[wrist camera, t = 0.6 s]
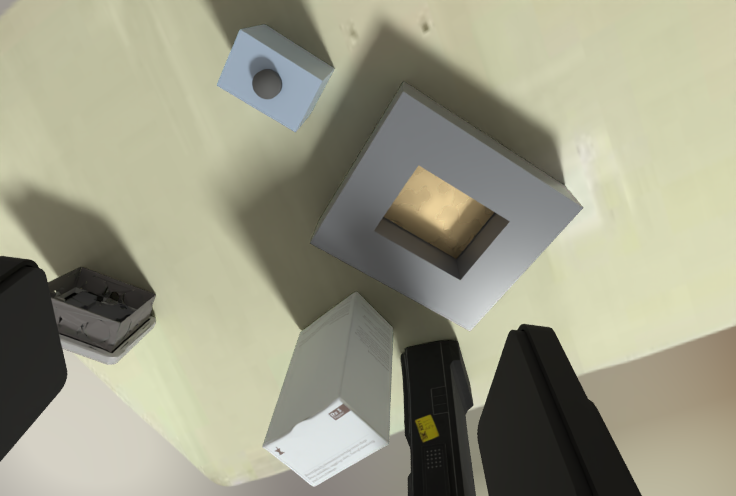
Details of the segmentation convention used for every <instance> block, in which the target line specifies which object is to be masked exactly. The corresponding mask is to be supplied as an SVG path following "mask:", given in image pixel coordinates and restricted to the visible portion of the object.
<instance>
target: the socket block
mask: <svg viewBox="0 0 736 496" xmlns="http://www.w3.org/2000/svg"><path fill="white" fill-rule="evenodd" d="M582 209H583V207H582V206H581V204H580V203H579V202H578V201H577V199H576V198H575V197H574V196H573V195H572V193H571V192H570V191H569V190H568V189H567V187H566V186H564V185H563V184H561V183H560V182H558V181H557V180H555V179H554V178H552V177H551V176H549V175H548V174H546V173H544V172H543V171H541V170H540V169H538V168H537V167H535V166H534V165H532V164H531V163H529V162H528V161H526V160H524V159H523V158H521V157H520V156H518V155H517V154H515V153H514V152H512V151H511V150H509V149H508V148H506V147H504V146H503V145H501V144H500V143H498V142H497V141H495V140H494V139H492V138H491V137H489V136H488V135H486V134H484V133H483V132H481V131H480V130H478V129H477V128H475V127H474V126H472V125H471V124H469V123H468V122H466V121H464V120H463V119H461V118H460V117H458V116H457V115H455V114H454V113H452V112H451V111H449V110H448V109H446V108H444V107H443V106H441V105H440V104H438V103H437V102H435V101H434V100H432V99H431V98H429V97H428V96H426V95H424V94H423V93H421V92H420V91H418V90H417V89H415V88H414V87H412V86H411V85H409V84H408V83H406V82H404V81H403V83H402V85H401V86H400V88H399V90H398V91H397V93H396V95H395V96H394V98H393V99H392V101H391V103H390V104H389V106H388V108H387V109H386V111H385V113H384V114H383V116H382V118H381V119H380V121H379V122H378V124H377V126H376V127H375V129H374V131H373V132H372V134H371V136H370V137H369V139H368V141H367V142H366V144H365V145H364V147H363V149H362V150H361V152H360V154H359V155H358V157H357V159H356V160H355V162H354V164H353V165H352V167H351V168H350V170H349V172H348V173H347V175H346V177H345V178H344V180H343V182H342V183H341V185H340V187H339V188H338V190H337V191H336V193H335V195H334V196H333V198H332V200H331V201H330V203H329V205H328V206H327V208H326V210H325V211H324V213H323V214H322V216H321V218H320V219H319V222H318V224H317V227H316V229H315V232H314V234H313V237H312V239H311V242H310V244H312V245H314V246H316V247H318V248H319V249H321V250H323V251H325V252H327V253H328V254H330V255H332V256H334V257H336V258H338V259H339V260H341V261H343V262H345V263H347V264H348V265H350V266H352V267H354V268H356V269H358V270H359V271H361V272H363V273H365V274H367V275H368V276H370V277H372V278H374V279H376V280H378V281H379V282H381V283H383V284H385V285H387V286H388V287H390V288H392V289H394V290H396V291H398V292H399V293H401V294H403V295H405V296H407V297H408V298H410V299H412V300H414V301H416V302H417V303H419V304H421V305H423V306H425V307H427V308H428V309H430V310H432V311H434V312H436V313H437V314H439V315H441V316H443V317H445V318H447V319H448V320H450V321H452V322H454V323H456V324H457V325H459V326H461V327H463V328H465V329H467V330H468V331H471V330H472V329H473V327H474V326H475V325H476V324H477V323H478V322H479V321H480V320H481V319H482V318H483V317H484V315H485V314H486V313H487V312H488V311H489V310H490V309H491V308H492V307H493V306H494V305H495V303H496V302H497V301H498V300H499V299H500V298H501V297H502V296H503V295H504V294H505V293H506V291H507V290H508V289H509V288H510V287H511V286H512V285H513V284H514V283H515V282H516V281H517V279H518V278H519V277H520V276H521V275H522V274H523V273H524V272H525V271H526V270H527V269H528V267H529V266H530V265H531V264H532V263H533V262H534V261H535V260H536V259H537V258H538V257H539V256H540V254H541V253H542V252H543V251H544V250H545V249H546V248H547V247H548V246H549V245H550V244H551V242H552V241H553V240H554V239H555V238H556V237H557V236H558V235H559V234H560V233H561V232H562V230H563V229H564V228H565V227H566V226H567V225H568V224H569V223H570V222H571V221H572V220H573V218H574V217H575V216H576V215H577V214H578V213H579V212H580V211H581V210H582Z"/></svg>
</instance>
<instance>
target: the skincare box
mask: <svg viewBox="0 0 736 496" xmlns="http://www.w3.org/2000/svg"><path fill="white" fill-rule="evenodd" d="M392 351H393V327H392V326H391V325H390V324H389V323H388V322H387V321H386V320H385V319H384V318H383V317H382V316H381V315H380V314H379V313H378V312H377V311H376V310H375V309H374V308H373V307H372V306H371V305H370V304H369V303H368V302H367V301H366V300H365V299H364V298H363V297H362V296H361V295H360V294H359V293H358V292H354V293H353V294H351V295H350V296H349V297H347V298H346V299H344V300H343V301H342V302H340V303H339V304H337V305H336V306H335V307H333V308H332V309H331V310H329V311H328V312H327V313H325V314H324V315H322V316H321V317H320V318H318V319H317V320H316V321H314V322H313V323H312V324H311V325H310V326H308V327H307V328H305V329H304V330H302V331H301V332H300V334H299V337H298V340H297V343H296V346H295V349H294V352H293V356H292V358H291V362H290V365H289V368H288V371H287V374H286V377H285V380H284V383H283V386H282V389H281V392H280V395H279V398H278V401H277V404H276V407H275V410H274V413H273V416H272V419H271V422H270V425H269V428H268V431H267V434H266V437H265V440H264V443H263V448H265V449H266V450H267V451H269V452H270V453H271V454H273V455H274V456H275V457H276V458H277V459H279V460H280V461H281V462H283V463H284V464H285V465H287V466H288V467H289V468H291V469H292V470H293V471H294V472H296V473H297V474H298V475H299V476H300V477H302V478H303V479H304V480H305V481H306V482H308V483H309V484H310V485H312V486H316V485H318V484H320V483H322V482H323V481H325V480H327V479H329V478H330V477H332V476H334V475H335V474H337V473H339V472H341V471H342V470H344V469H346V468H348V467H349V466H351V465H353V464H355V463H356V462H358V461H360V460H361V459H363V458H365V457H367V456H368V455H370V454H372V453H374V452H375V451H377V450H379V449H381V448H382V447H384V446H386V445H388V444H389V431H390V402H391V377H392Z"/></svg>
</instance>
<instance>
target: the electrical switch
mask: <svg viewBox="0 0 736 496" xmlns="http://www.w3.org/2000/svg"><path fill="white" fill-rule="evenodd" d="M80 270H81V272H80ZM79 274H80V275H79ZM68 276H69V277H68ZM96 276H97V277H96ZM105 281H106V282H105ZM86 282H87V283H86ZM48 287H49V291H50V296H51V300H52V305H53V309H54V314H55V318H56V323H57V327H58V332H59V336H60V341H61V345H62V349H65V350H67V351H70V352H73V353H76V354H79V355H82V356H84V357H87V358H90V359H93V360H96V361H99V362H101V363H104V364H116V363H117V362H118V361H119V360H120V359H121V358H122V357H124V356H125V355H126V354H127V353H128V352H129V351H130V350H131V349H132V348H133V347H134V346H135V345H136V344H137V343H138V342H139V341H140V340H141V339H142V338H143V337H144V336H145V335H146V334H147V333H148V332H149V331H150V330H152V329H153V328H154V325H155V323H156V317H153V316H150V313H151V311H152V304H153V302H154V299H155V296H156V294H153V293H151V292H148V291H145V290H143V289H140V288H137V287H135V286H132V285H129V284H126V283H124V282H121V281H118V280H116V279H113V278H110V277H108V276H105V275H102V274H100V273H97V272H94V271H92V270H89V269H86V268H83V267H82V269H81V267H80V268H77V269H75V270H73V271H71V272H69V273H67V274H65V275H63V276H61V277H59V278H56V279H54V280H52V281H50V282H48ZM107 287H108V289H107V291H106V293H105V295H103V294H104V292H105V290H106V288H107ZM80 288H82V289H80ZM55 290H56V293H55V292H54V291H55ZM112 292H117V293H118V294H119V298H118V302H117V301H115V300H113V299H111V298H109V297H110V295H111V293H112ZM125 293H126V294H125ZM123 295H124V301H123ZM123 302H124V303H125V304H124V303H123Z"/></svg>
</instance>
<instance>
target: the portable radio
mask: <svg viewBox="0 0 736 496" xmlns="http://www.w3.org/2000/svg"><path fill="white" fill-rule="evenodd" d="M401 366H402V376H403V393H404V424H405V436H406V439H407V441H408V444H409V446H410V450H411V473H410V474H409V476H408V496H476V493H475V485H474V479H473V471H472V463H471V456H470V449H469V441H468V434H467V427H466V426H467V425H466V416H465V415H466V413H467V411H468V410H469V409H470V408H471V407H472V406H473V399H472V393H471V387H470V382H469V378H468V375H467V371H466V368H465V364H464V361H463V357H462V354H461V350H460V347H459V343H458V341H451V340H445V341H437V342H432V343H427V344H422V345H417V346H412V347H407V348H406V349H405V352H404V353H403V354H402V355H401Z"/></svg>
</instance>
